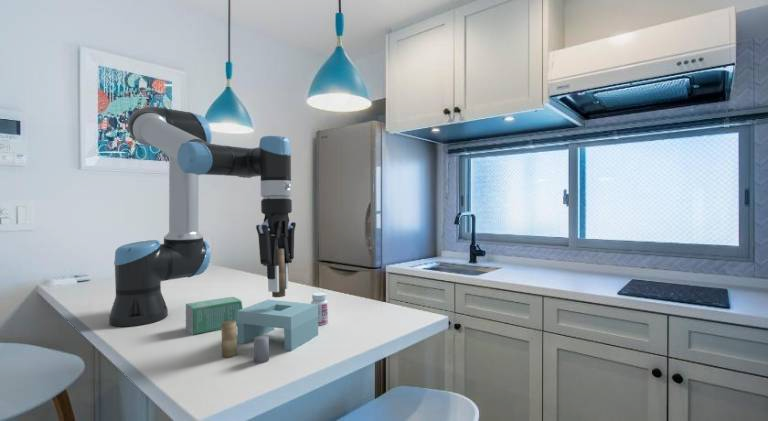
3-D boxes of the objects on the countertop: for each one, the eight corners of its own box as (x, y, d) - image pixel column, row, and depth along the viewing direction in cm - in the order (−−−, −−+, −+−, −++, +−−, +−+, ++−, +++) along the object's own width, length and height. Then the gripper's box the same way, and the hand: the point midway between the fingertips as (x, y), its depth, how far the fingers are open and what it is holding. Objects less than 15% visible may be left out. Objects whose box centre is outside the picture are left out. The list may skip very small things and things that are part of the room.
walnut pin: (269, 296, 100) (268, 249, 100) (277, 294, 103) (276, 248, 103) (280, 297, 99) (279, 249, 99) (287, 294, 102) (286, 248, 102)
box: (243, 325, 114) (242, 299, 114) (193, 336, 105) (192, 308, 105) (234, 319, 119) (233, 295, 119) (185, 330, 110) (184, 303, 110)
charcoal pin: (250, 362, 87) (250, 339, 87) (260, 356, 90) (260, 334, 90) (262, 364, 86) (262, 341, 86) (272, 358, 89) (271, 336, 88)
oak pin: (218, 356, 90) (218, 323, 90) (229, 351, 93) (228, 319, 93) (230, 358, 89) (229, 325, 89) (240, 353, 92) (239, 321, 92)
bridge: (237, 342, 99) (236, 310, 99) (268, 328, 110) (267, 299, 110) (291, 350, 93) (290, 316, 93) (318, 334, 104) (317, 304, 104)
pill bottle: (324, 326, 112) (324, 296, 111) (308, 325, 113) (308, 295, 112) (330, 321, 116) (329, 292, 116) (314, 320, 117) (314, 291, 117)
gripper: (268, 197, 92) (270, 298, 92) (306, 197, 107) (308, 284, 107) (242, 198, 95) (244, 296, 95) (283, 198, 110) (285, 283, 110)
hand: (278, 289), depth 101 cm, fingers closed on walnut pin, 3 cm apart
